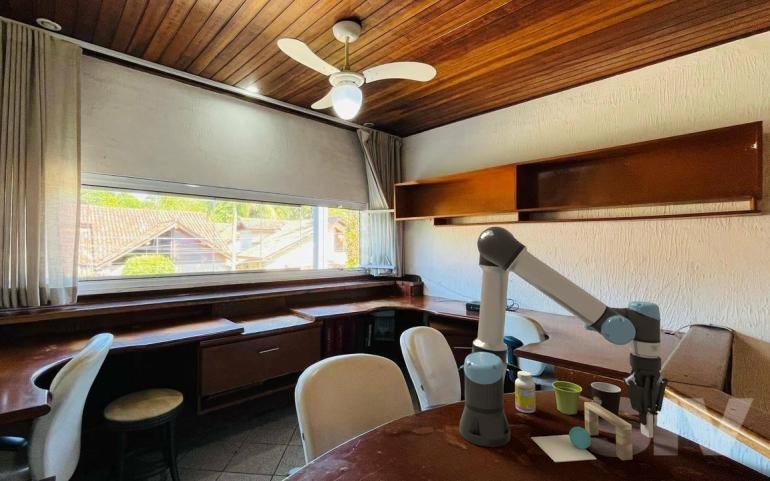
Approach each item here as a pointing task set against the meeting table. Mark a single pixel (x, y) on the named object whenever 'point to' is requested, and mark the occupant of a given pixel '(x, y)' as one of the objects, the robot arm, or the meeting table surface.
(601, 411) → the bridge
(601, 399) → the coffee mug
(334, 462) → the meeting table surface
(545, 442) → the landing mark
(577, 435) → the ball
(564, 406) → the plant pot
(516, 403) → the supplement bottle
